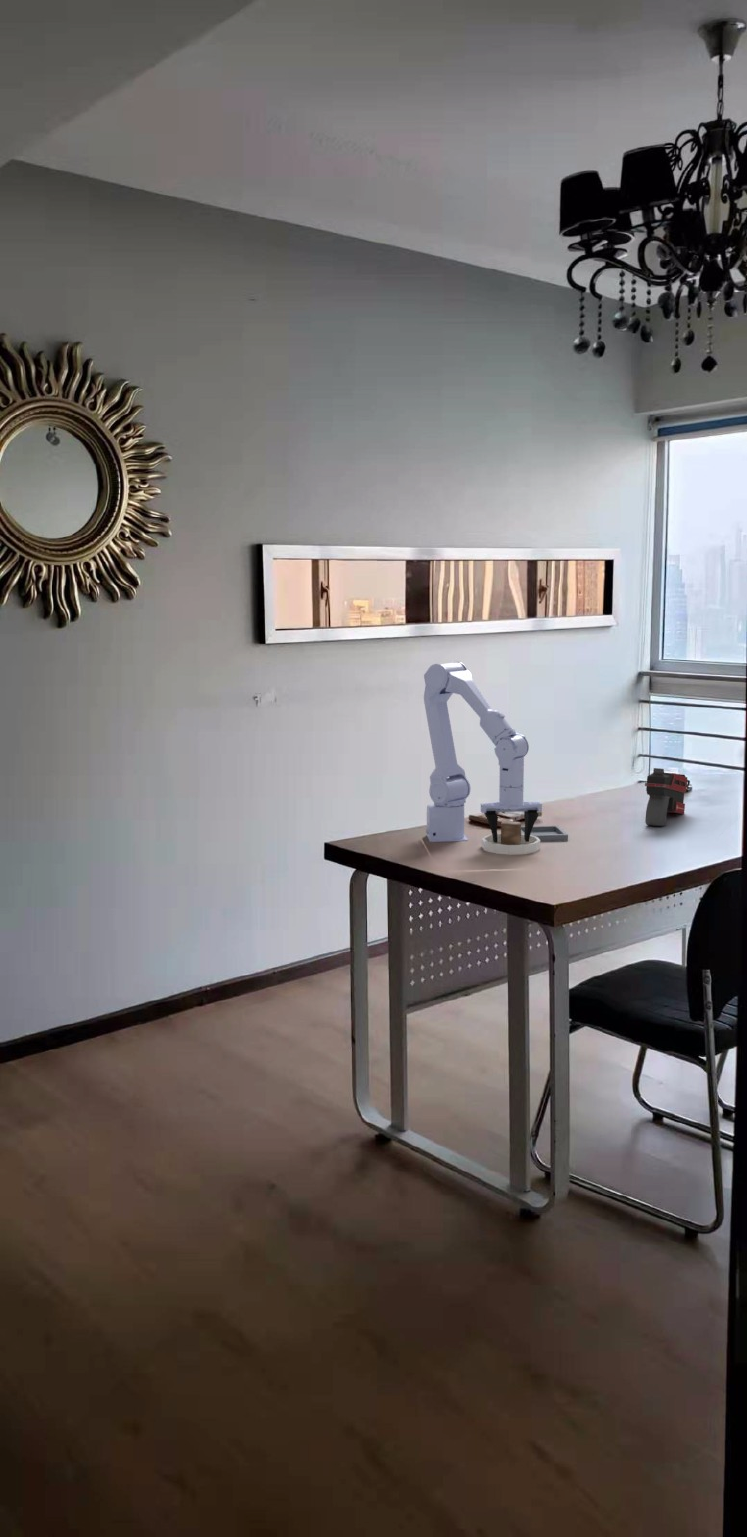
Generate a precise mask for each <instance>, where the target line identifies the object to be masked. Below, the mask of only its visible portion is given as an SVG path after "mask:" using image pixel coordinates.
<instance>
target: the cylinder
mask: <svg viewBox="0 0 747 1537" xmlns="http://www.w3.org/2000/svg"><path fill="white" fill-rule="evenodd" d="M521 826H522V823H521V822H520V821H512V820H511V821H510V820H508V821H502V822H501V824H500V833H501V844H503V845H521Z"/></svg>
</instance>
